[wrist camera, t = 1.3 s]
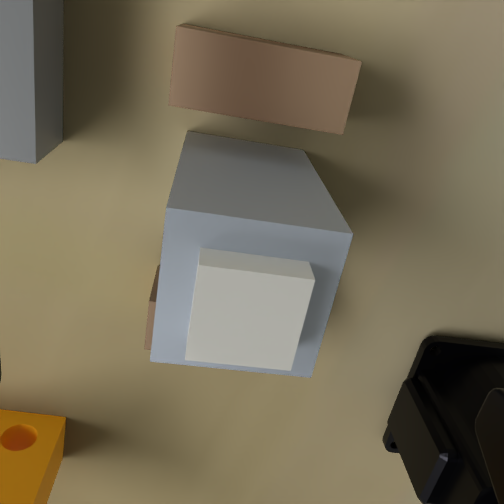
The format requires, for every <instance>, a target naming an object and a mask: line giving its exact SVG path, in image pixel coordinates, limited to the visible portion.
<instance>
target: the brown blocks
mask: <svg viewBox="0 0 504 504" xmlns="http://www.w3.org/2000/svg"><path fill="white" fill-rule="evenodd" d="M361 63H362V61H359V60H356V59H353V58H351V57H348V56H345V55H342V54H338V53H333V52H328V51H323V50H317V49H312V48H307V47H302V46H297V45H291V44H286V43H281V42H276V41H271V40H265V39H260V38H255V37H250V36H245V35H239V34H234V33H229V32H224V31H219V30H213V29H208V28H203V27H198V26H193V25H187V24H181V25H178V26H176V33H175V44H174V54H173V64H172V74H171V84H170V94H169V104H168V105H170V106H175V107H181V108H187V109H193V110H199V111H205V112H211V113H217V114H223V115H229V116H234V117H240V118H246V119H252V120H258V121H264V122H270V123H276V124H282V125H287V126H293V127H299V128H305V129H311V130H317V131H323V132H329V133H335V134H341V135H343V133H344V129H345V125H346V121H347V117H348V114H349V110H350V106H351V102H352V98H353V94H354V90H355V87H356V83H357V79H358V75H359V71H360V67H361ZM159 271H160V266H158V267H157V271H156V275H155V279H154V283H153V287H152V291H151V296H150V300H149V307H148V318H147V328H146V338H145V348H144V349H147V350H151V346H152V337H153V327H154V318H155V309H156V299H157V290H158V280H159Z"/></svg>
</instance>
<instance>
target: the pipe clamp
mask: <svg viewBox="0 0 504 504" xmlns="http://www.w3.org/2000/svg"><path fill="white" fill-rule="evenodd" d="M65 424H66V417H61V416H52V415H44V414H35V413H27V412H19V411H10V410H2V409H0V504H47V501H48V498H49V495H50V493H51V490H52V487H53V484H54V481H55V478H56V475H57V473H58V470H59V467H60V464H61V461H62V458H63V449H64V437H65Z"/></svg>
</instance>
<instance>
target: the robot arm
mask: <svg viewBox="0 0 504 504" xmlns="http://www.w3.org/2000/svg"><path fill="white" fill-rule="evenodd" d="M435 346H437V347H436V348H435V349H433V350H431V348H433V347H435ZM0 381H1V360H0ZM387 423H388V426H387V428H386V431H385V433H384V436H383V443H384V446H385V448H386V450H387V451H389V452H393V453H400V455H401V458H402V460H403V463H404V465H405V468H406V470H407V473H408V475H409V478H410V480H411V482H412V485H413V487H414V490H415V492H416V495H417V497H418V499H419V500H420V501H421V503H422V504H504V343H495V342H487V341H478V340H469V339H461V338H452V337H444V336H430V337H427V338H426V339H424V340H423V341H422V343H421V345H420V347H419V350H418V352H417V355H416V357H415V360H414V362H413V365H412V367H411V369H410V372H409V374H408V377H407V379H406V380H405V381H404V382H403V384H402V386H401V389H400V391H399V394H398V396H397V399H396V401H395V404H394V406H393V409H392V411H391V414H390V416H389V419H388V421H387Z"/></svg>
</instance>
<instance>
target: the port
mask: <svg viewBox="0 0 504 504" xmlns="http://www.w3.org/2000/svg"><path fill="white" fill-rule="evenodd" d="M62 142H63V0H0V159H7V160H13V161H20V162H27V163H34V164H36V163H38V162H39V161H40V160H41V159H42V158H44V157H45V156H46V155H47V154H48V153H50V152H51V151H52V150H53V149H54V148H56V147H57V146H58V145H59V144H60V143H62Z"/></svg>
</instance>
